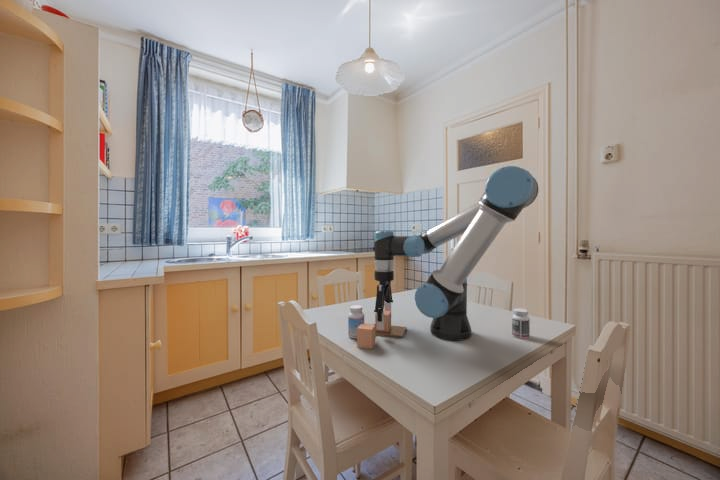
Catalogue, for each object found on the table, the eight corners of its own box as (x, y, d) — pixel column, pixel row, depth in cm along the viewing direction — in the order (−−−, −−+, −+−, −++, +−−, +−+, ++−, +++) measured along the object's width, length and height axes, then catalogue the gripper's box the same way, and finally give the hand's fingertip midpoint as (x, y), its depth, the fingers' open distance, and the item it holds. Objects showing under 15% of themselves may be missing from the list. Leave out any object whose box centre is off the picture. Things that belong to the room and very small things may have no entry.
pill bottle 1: (362, 339, 105) (362, 309, 105) (346, 338, 107) (346, 308, 106) (365, 333, 111) (365, 305, 111) (350, 332, 113) (350, 304, 112)
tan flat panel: (406, 328, 116) (406, 313, 116) (402, 337, 107) (402, 321, 107) (372, 325, 121) (372, 310, 120) (366, 334, 111) (366, 317, 111)
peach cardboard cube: (375, 343, 102) (375, 324, 102) (371, 348, 97) (371, 329, 97) (361, 341, 104) (361, 323, 104) (357, 347, 99) (357, 328, 99)
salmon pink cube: (391, 327, 116) (391, 311, 116) (388, 331, 111) (388, 315, 111) (378, 326, 117) (378, 310, 117) (375, 330, 112) (375, 313, 112)
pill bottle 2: (528, 334, 109) (529, 308, 109) (530, 340, 104) (530, 313, 103) (511, 332, 111) (511, 307, 111) (512, 337, 106) (512, 311, 106)
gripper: (381, 265, 126) (382, 313, 127) (366, 274, 102) (366, 333, 103) (399, 266, 124) (399, 315, 125) (386, 275, 100) (387, 335, 101)
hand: (384, 323), depth 114 cm, fingers open, 13 cm apart
